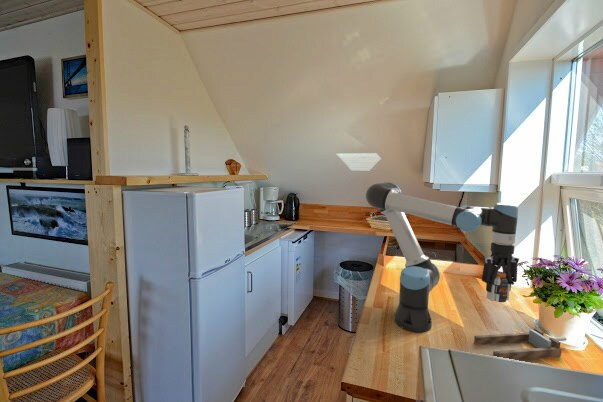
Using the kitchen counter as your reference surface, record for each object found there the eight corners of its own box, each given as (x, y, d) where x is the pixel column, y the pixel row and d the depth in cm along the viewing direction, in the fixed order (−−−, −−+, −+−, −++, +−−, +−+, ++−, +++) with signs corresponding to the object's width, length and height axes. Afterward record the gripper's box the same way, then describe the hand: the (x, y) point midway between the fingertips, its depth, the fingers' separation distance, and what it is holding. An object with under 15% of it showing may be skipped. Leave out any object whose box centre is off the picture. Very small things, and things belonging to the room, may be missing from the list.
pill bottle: (500, 304, 108) (503, 276, 107) (485, 297, 114) (487, 271, 112) (509, 301, 111) (512, 273, 109) (494, 295, 116) (496, 268, 115)
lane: (495, 361, 97) (496, 348, 96) (473, 343, 107) (474, 331, 107) (560, 356, 100) (562, 343, 99) (533, 339, 110) (534, 327, 109)
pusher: (546, 354, 101) (548, 341, 100) (528, 341, 108) (529, 329, 107) (574, 352, 102) (576, 339, 101) (554, 339, 109) (555, 327, 109)
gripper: (488, 246, 105) (483, 304, 107) (533, 244, 107) (526, 302, 110) (473, 241, 112) (469, 295, 115) (515, 239, 114) (510, 293, 117)
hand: (497, 298), depth 112 cm, fingers closed on pill bottle, 6 cm apart
